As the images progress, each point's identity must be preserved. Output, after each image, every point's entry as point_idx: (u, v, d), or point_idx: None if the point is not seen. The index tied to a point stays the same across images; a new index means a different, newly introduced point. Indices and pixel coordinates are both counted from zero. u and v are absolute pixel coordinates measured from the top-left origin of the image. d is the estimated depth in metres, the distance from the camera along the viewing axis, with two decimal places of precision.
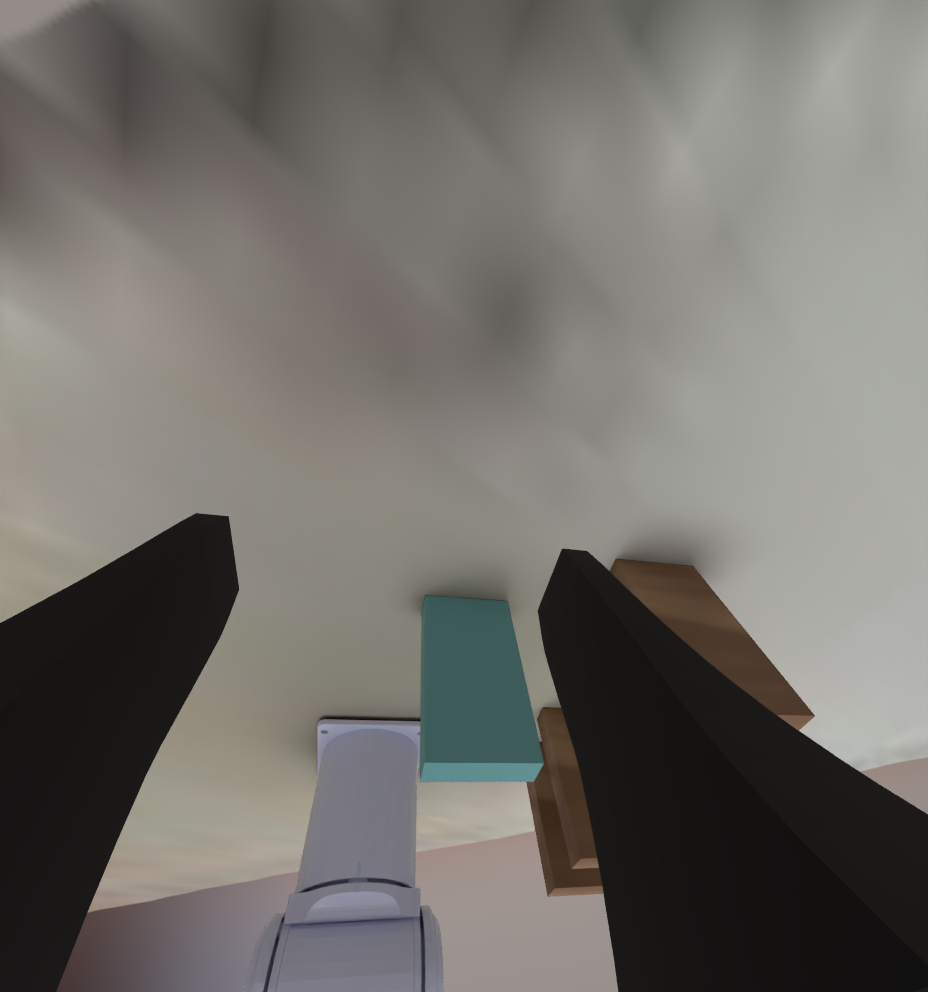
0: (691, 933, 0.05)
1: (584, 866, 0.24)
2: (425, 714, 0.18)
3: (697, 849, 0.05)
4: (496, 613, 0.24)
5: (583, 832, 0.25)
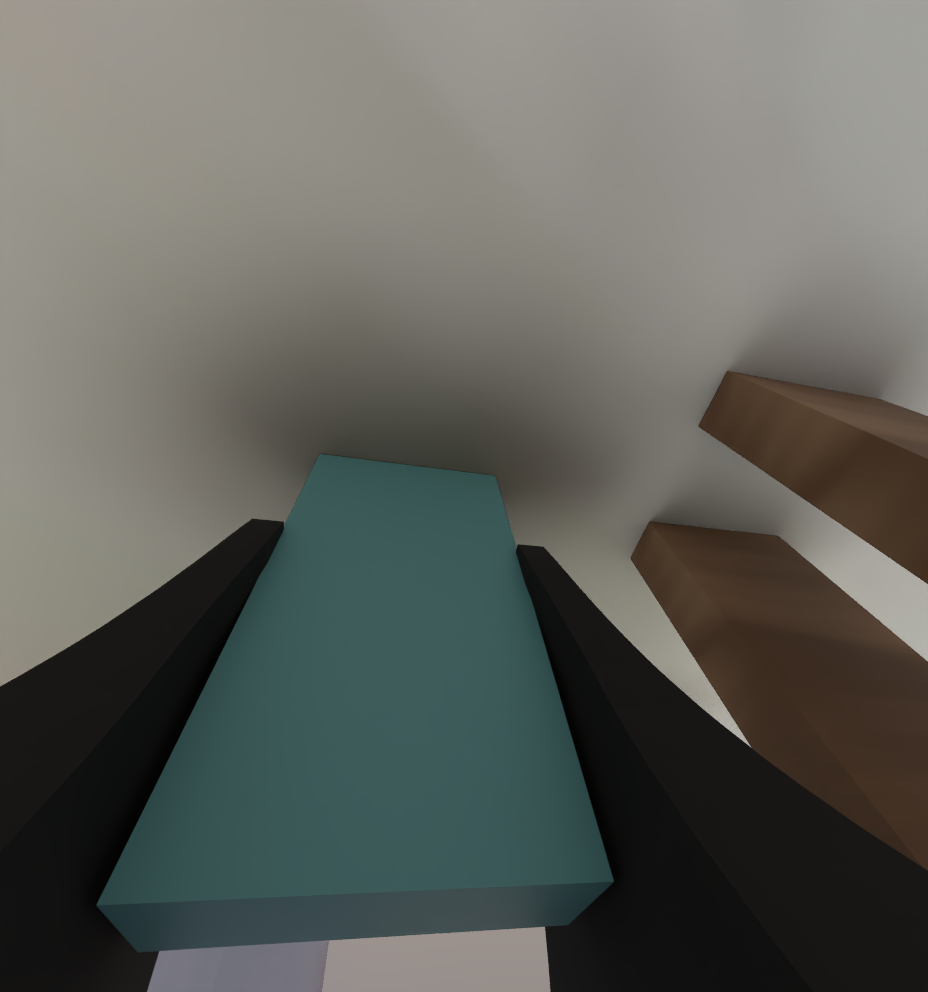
0: (610, 939, 0.05)
1: None
2: (202, 697, 0.05)
3: (617, 852, 0.05)
4: (470, 490, 0.11)
5: None
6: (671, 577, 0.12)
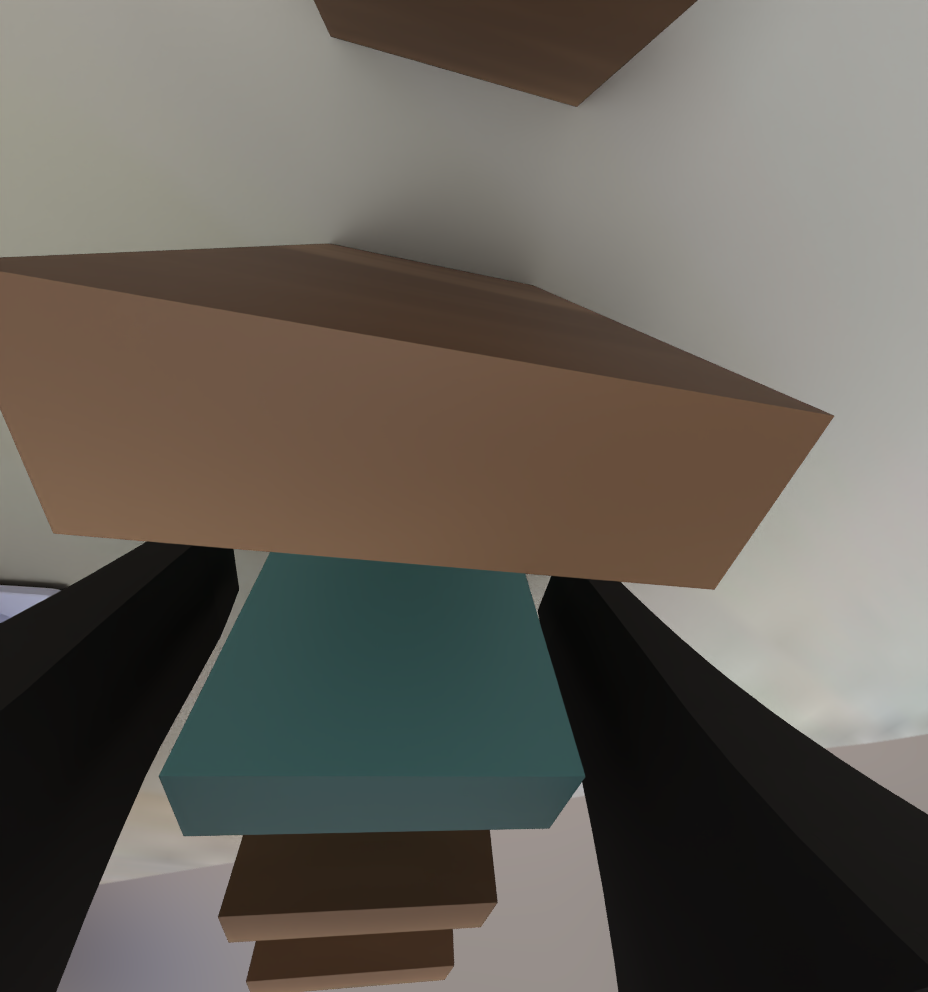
0: (691, 933, 0.05)
1: (266, 937, 0.08)
2: (233, 631, 0.06)
3: (697, 849, 0.05)
4: None
5: None
6: None
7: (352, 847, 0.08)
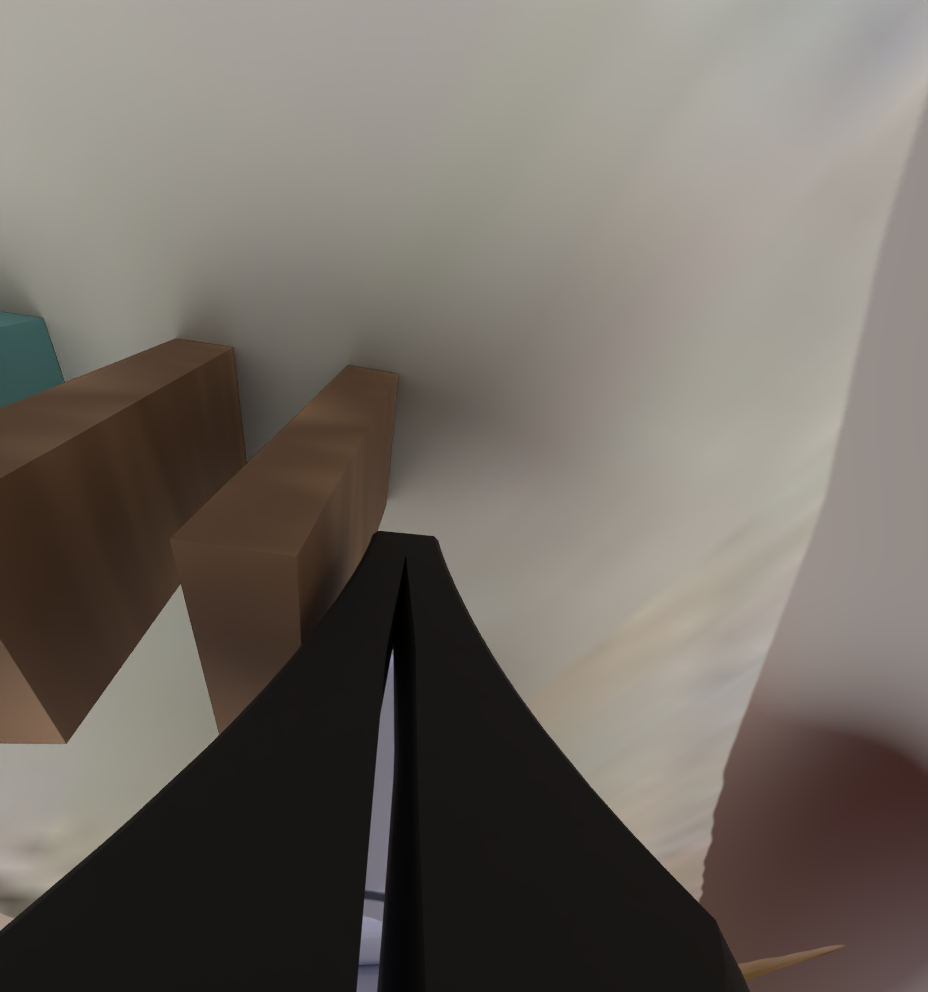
0: (392, 954, 0.04)
1: (37, 722, 0.07)
2: None
3: (402, 859, 0.04)
4: None
5: None
6: None
7: None
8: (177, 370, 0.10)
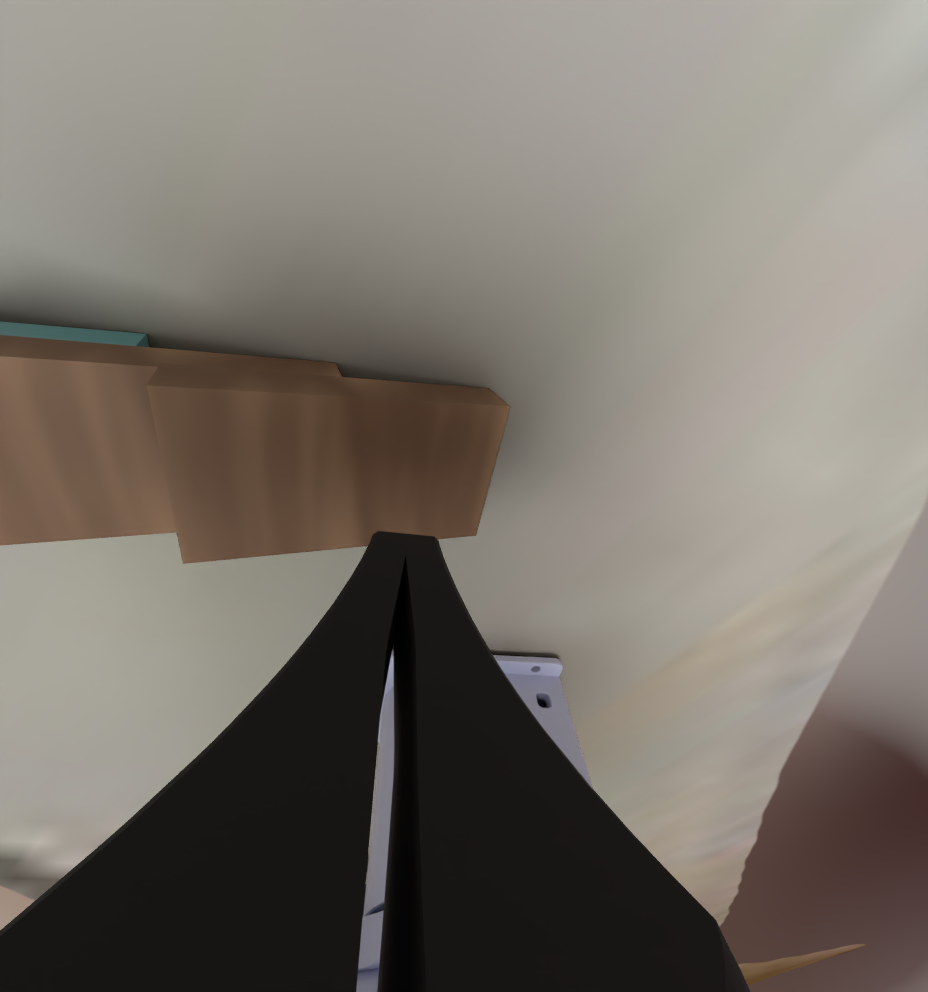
0: (393, 954, 0.04)
1: None
2: None
3: (402, 859, 0.04)
4: None
5: None
6: None
7: None
8: (234, 368, 0.11)
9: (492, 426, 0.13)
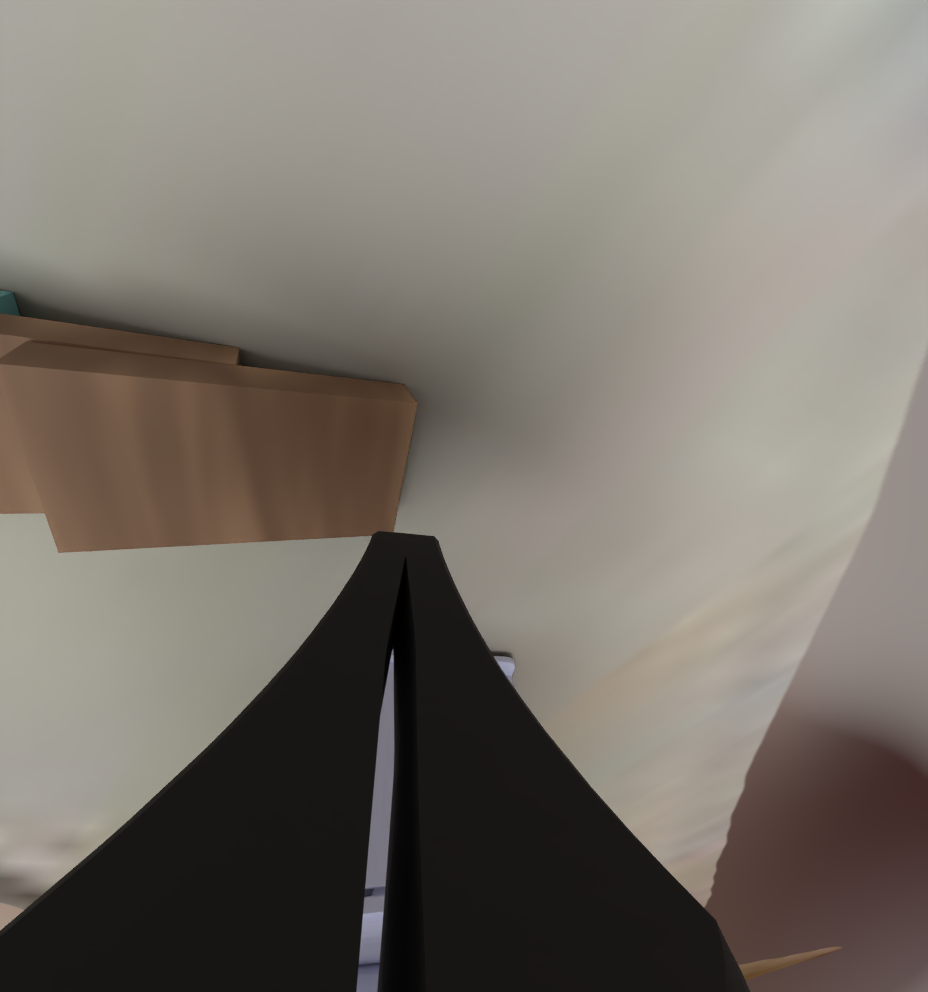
0: (393, 954, 0.04)
1: None
2: None
3: (402, 859, 0.04)
4: None
5: None
6: None
7: None
8: (111, 344, 0.10)
9: (399, 423, 0.12)
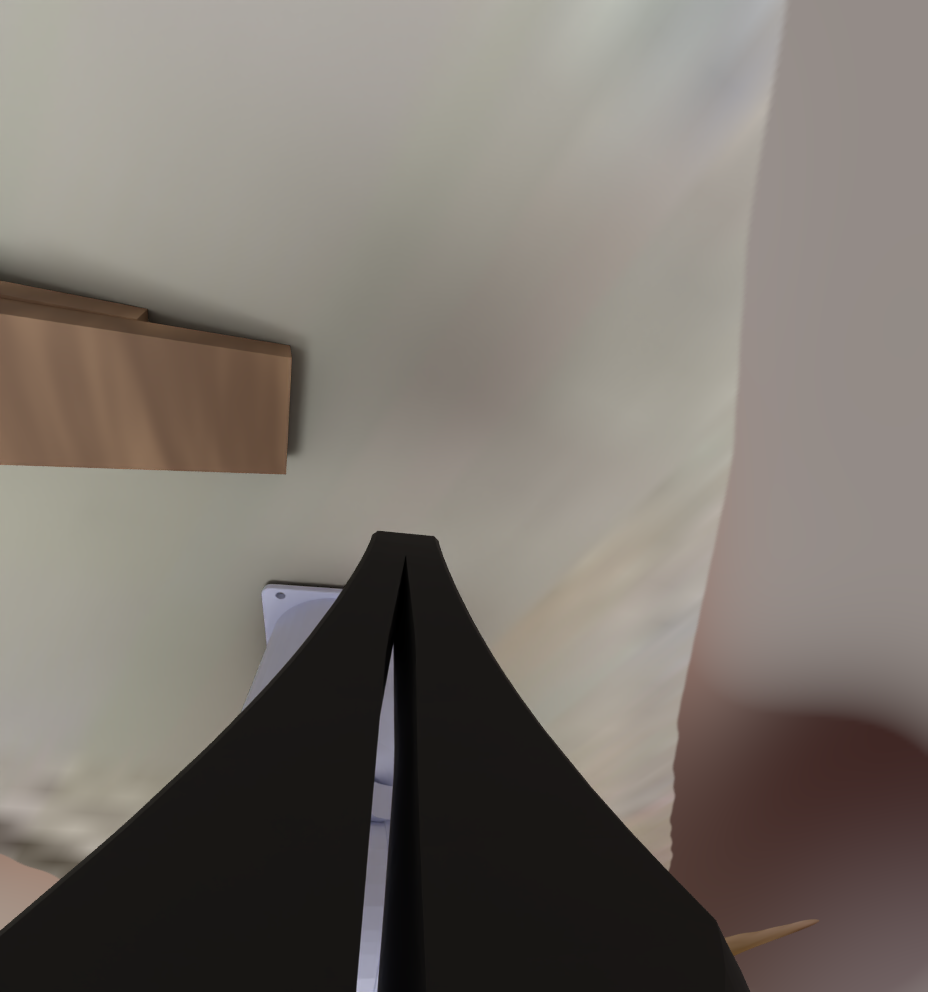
0: (392, 955, 0.04)
1: None
2: None
3: (402, 859, 0.04)
4: None
5: None
6: None
7: None
8: (31, 297, 0.13)
9: (277, 374, 0.15)
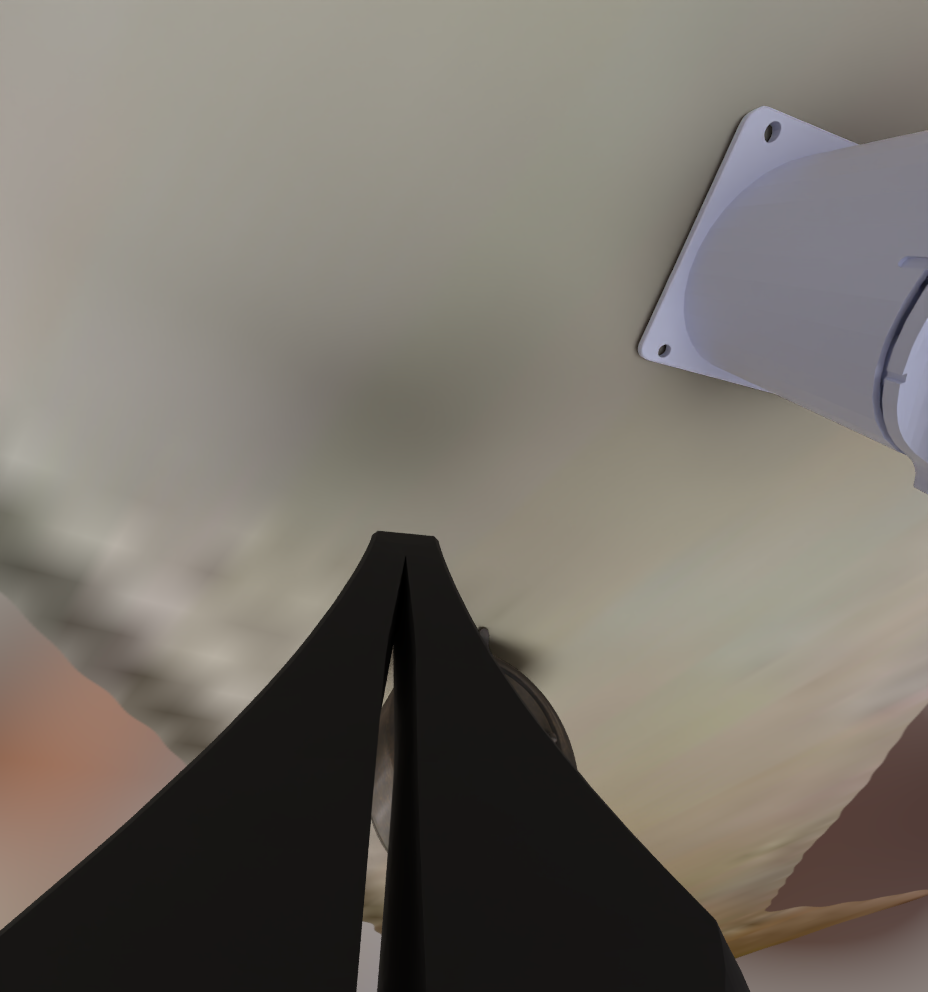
0: (392, 954, 0.04)
1: None
2: None
3: (402, 859, 0.04)
4: None
5: None
6: None
7: None
8: None
9: None
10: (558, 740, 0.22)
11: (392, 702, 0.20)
